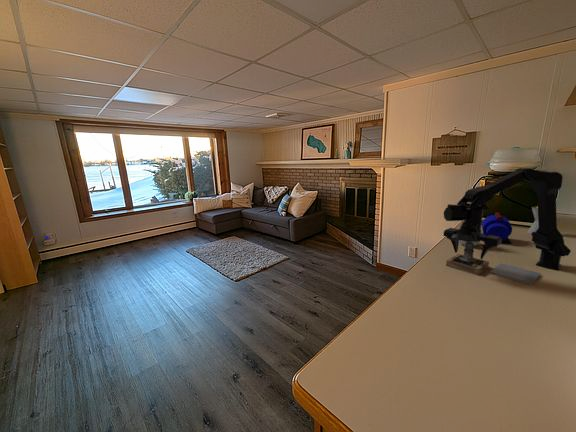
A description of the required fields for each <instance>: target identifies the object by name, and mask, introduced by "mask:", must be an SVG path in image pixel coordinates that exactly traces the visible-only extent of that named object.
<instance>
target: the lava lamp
mask: <svg viewBox="0 0 576 432" xmlns="http://www.w3.org/2000/svg"><path fill="white" fill-rule="evenodd" d="M531 211H532V214H533V217H534V222H533V223H532V225H531V226H530V227H529V229H528V231H527V233H528V234H531V235H532V232H536V231H537V229H538V228H539V222H538V205H537V206H531Z"/></svg>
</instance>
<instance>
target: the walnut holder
mask: <svg viewBox="0 0 576 432" xmlns="http://www.w3.org/2000/svg"><path fill="white" fill-rule="evenodd" d="M463 255H464V254H460V253H457V254H455V255H454V256H452V257H450V258H449V259H446V262H445V266H446V267H449V268H451V269H455V270H459V271H462V272H465V273H468V274H471V275H475V276H479V275H480V274H481V273H483V272H484V271H485V270H487V269H488V268H489V265H490V261H487V260H484V259H481V258H477V257H474V258H475V259H476V260H477V261H476V262H475V264H474V265H472V266H474V267H472V266H468V265H465V264H462V263H461V262H460V258H459V257H461V256H463ZM475 266H476V267H475Z"/></svg>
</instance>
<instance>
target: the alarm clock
mask: <svg viewBox="0 0 576 432" xmlns="http://www.w3.org/2000/svg"><path fill="white" fill-rule="evenodd" d="M482 220H483V221H484V222H482V225H481V231H482V232H481V235H482V236H484V237H487V236H488V235H493V236H498V237H501V239H502V242H506V243H508V244H510V245H512V242H511V240H510V238H509V237H510V236H511V234H512V232H513V227H512V225H511V223H510V220H509V219H508V218H507V217H506V216H504V215H501V213H500V212H498V211H496V212H495V213H494V214H492V215H488V216H486V217H485V218H484V219H482Z"/></svg>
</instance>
